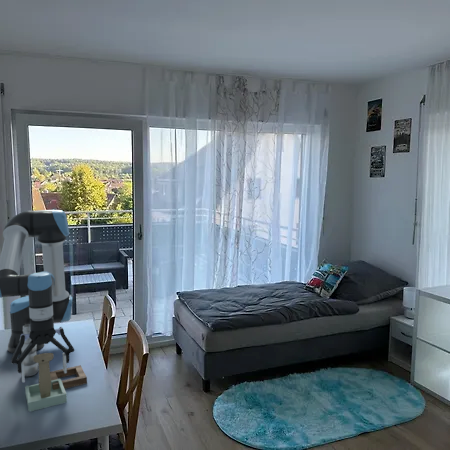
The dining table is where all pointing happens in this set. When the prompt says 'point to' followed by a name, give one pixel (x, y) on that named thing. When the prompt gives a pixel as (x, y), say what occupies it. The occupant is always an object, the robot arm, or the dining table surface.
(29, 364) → the plastic bottle
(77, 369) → the brown wooden frame
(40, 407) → the tray
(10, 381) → the dining table surface
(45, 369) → the handle
